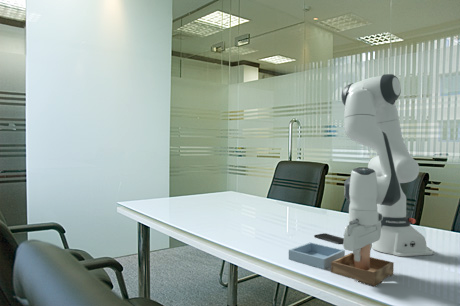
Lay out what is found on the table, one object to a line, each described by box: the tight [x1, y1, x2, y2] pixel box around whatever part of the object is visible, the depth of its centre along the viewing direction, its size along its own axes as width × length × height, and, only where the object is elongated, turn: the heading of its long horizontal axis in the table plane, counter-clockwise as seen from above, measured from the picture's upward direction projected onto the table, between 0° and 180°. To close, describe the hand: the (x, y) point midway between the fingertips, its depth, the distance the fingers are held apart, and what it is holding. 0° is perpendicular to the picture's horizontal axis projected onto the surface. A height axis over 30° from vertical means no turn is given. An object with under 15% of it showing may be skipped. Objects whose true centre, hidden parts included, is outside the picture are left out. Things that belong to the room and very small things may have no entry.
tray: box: [330, 252, 395, 287], centre depth 116 cm, size 15×15×4 cm
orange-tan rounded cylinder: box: [354, 244, 371, 270], centre depth 116 cm, size 5×5×8 cm
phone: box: [313, 233, 344, 245], centre depth 159 cm, size 8×1×15 cm
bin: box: [288, 242, 346, 270], centre depth 129 cm, size 15×15×4 cm
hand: (362, 258), depth 116 cm, fingers closed on orange-tan rounded cylinder, 5 cm apart
